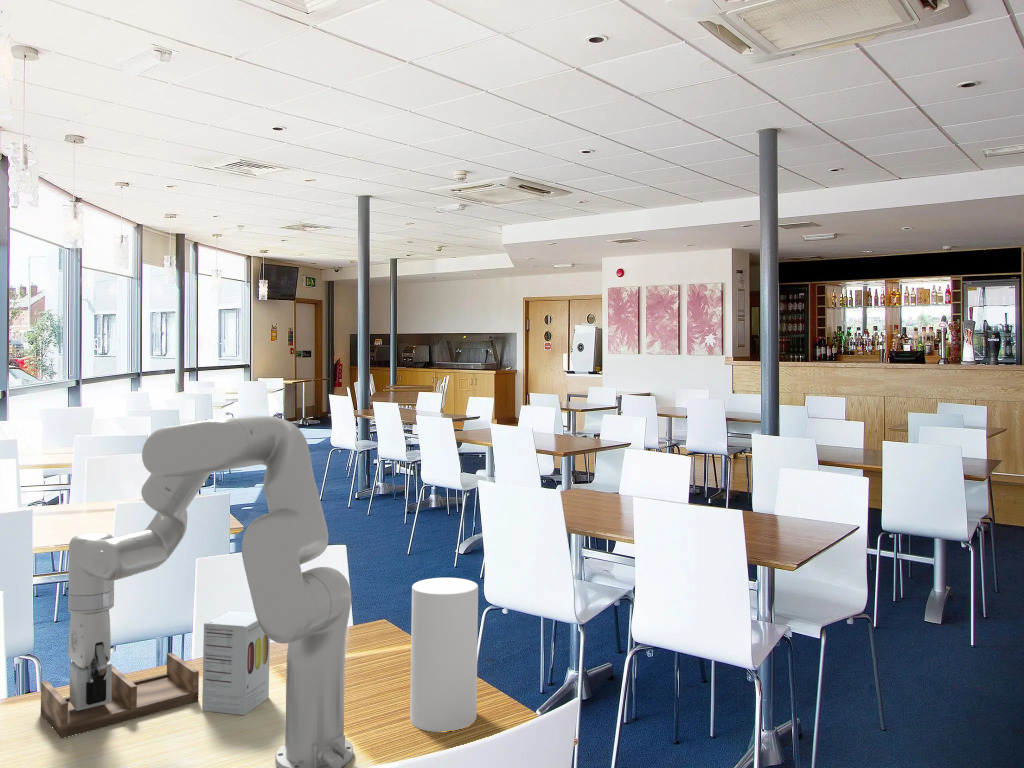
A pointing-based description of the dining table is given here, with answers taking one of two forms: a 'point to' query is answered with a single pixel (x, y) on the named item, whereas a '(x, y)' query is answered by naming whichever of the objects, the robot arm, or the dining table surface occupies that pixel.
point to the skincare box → (79, 686)
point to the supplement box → (235, 663)
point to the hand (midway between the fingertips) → (90, 696)
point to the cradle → (123, 699)
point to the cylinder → (444, 654)
